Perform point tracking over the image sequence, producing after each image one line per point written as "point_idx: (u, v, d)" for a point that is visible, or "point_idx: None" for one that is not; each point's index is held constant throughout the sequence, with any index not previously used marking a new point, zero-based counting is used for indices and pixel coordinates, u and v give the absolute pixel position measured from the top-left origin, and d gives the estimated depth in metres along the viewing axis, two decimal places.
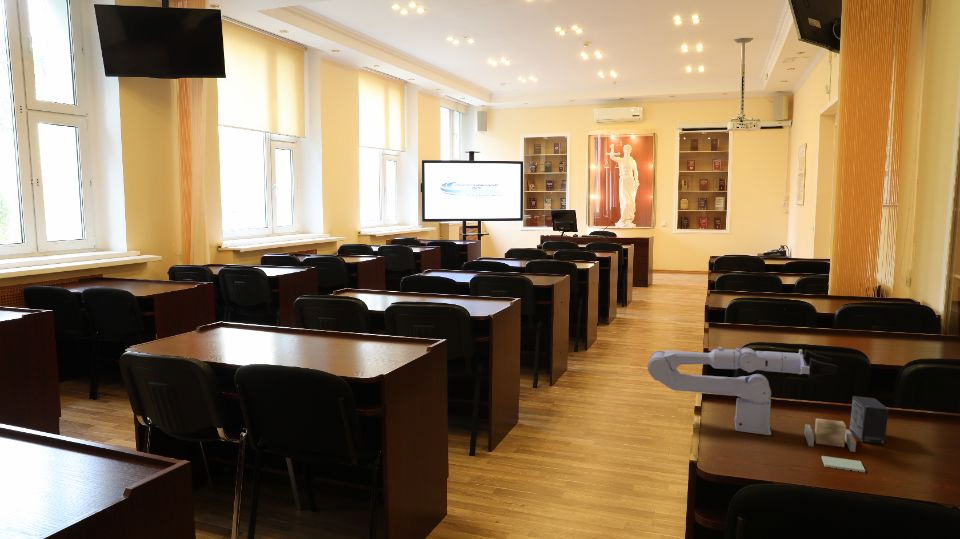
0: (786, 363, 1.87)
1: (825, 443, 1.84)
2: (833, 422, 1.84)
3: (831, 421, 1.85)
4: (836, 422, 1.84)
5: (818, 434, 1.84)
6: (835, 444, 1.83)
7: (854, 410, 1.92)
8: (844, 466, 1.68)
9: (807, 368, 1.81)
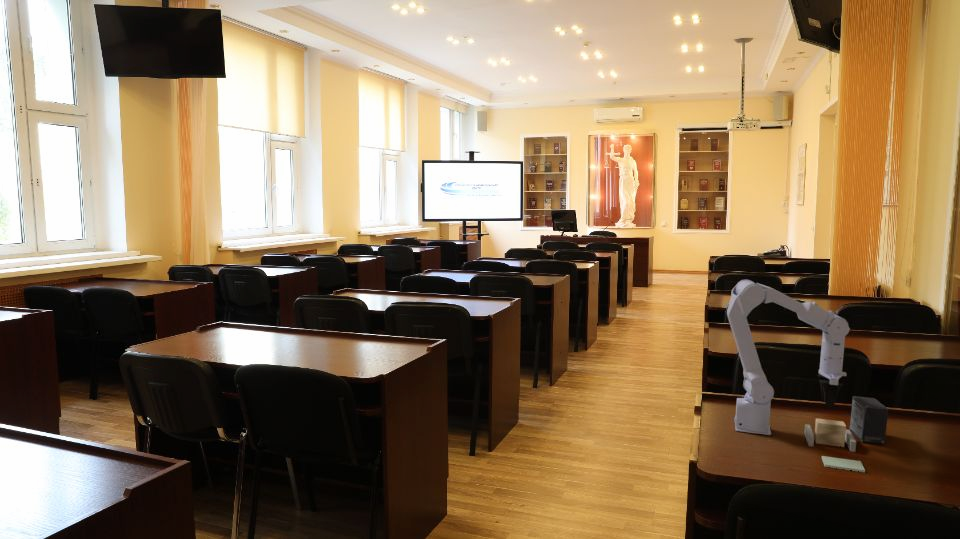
0: (834, 362, 1.86)
1: (825, 443, 1.84)
2: (833, 422, 1.84)
3: (831, 421, 1.85)
4: (836, 422, 1.84)
5: (818, 434, 1.84)
6: (835, 444, 1.83)
7: (854, 410, 1.92)
8: (844, 466, 1.68)
9: (836, 383, 1.83)
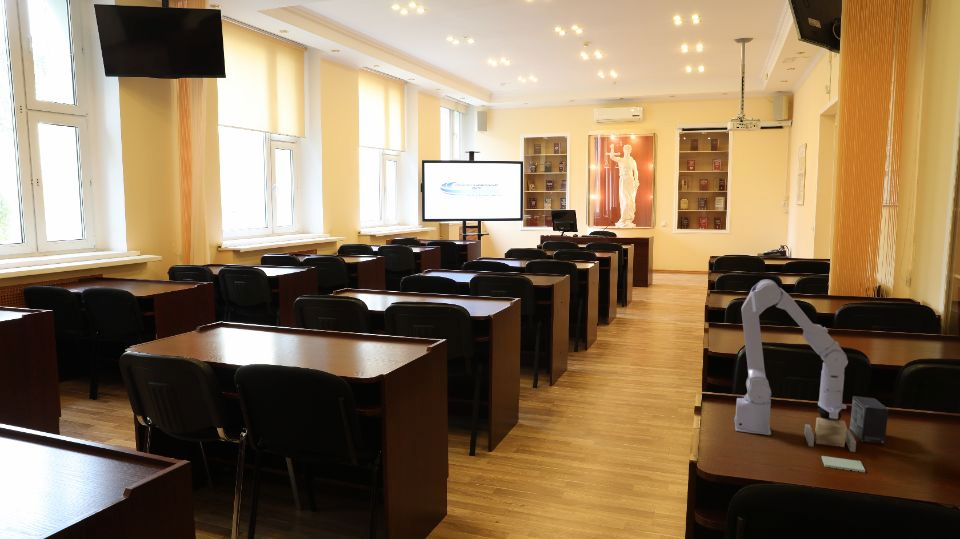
0: (834, 395, 1.84)
1: (825, 443, 1.84)
2: (834, 422, 1.83)
3: (832, 421, 1.84)
4: (837, 422, 1.83)
5: (818, 435, 1.84)
6: (835, 444, 1.83)
7: (854, 410, 1.92)
8: (844, 466, 1.68)
9: (836, 416, 1.80)
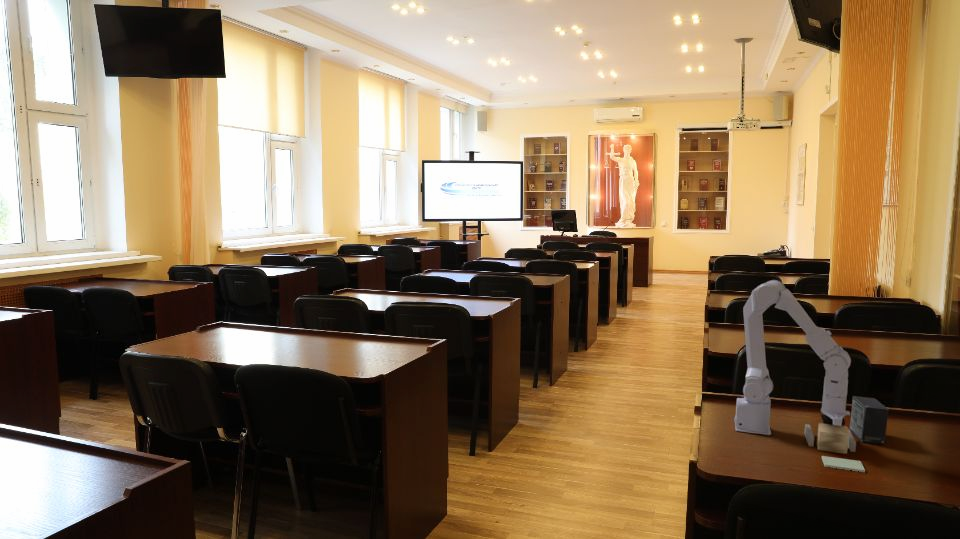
0: (837, 401, 1.78)
1: (827, 449, 1.79)
2: (837, 429, 1.78)
3: (835, 427, 1.79)
4: (840, 428, 1.78)
5: (820, 441, 1.79)
6: (837, 451, 1.78)
7: (854, 410, 1.92)
8: (844, 466, 1.68)
9: (839, 423, 1.75)
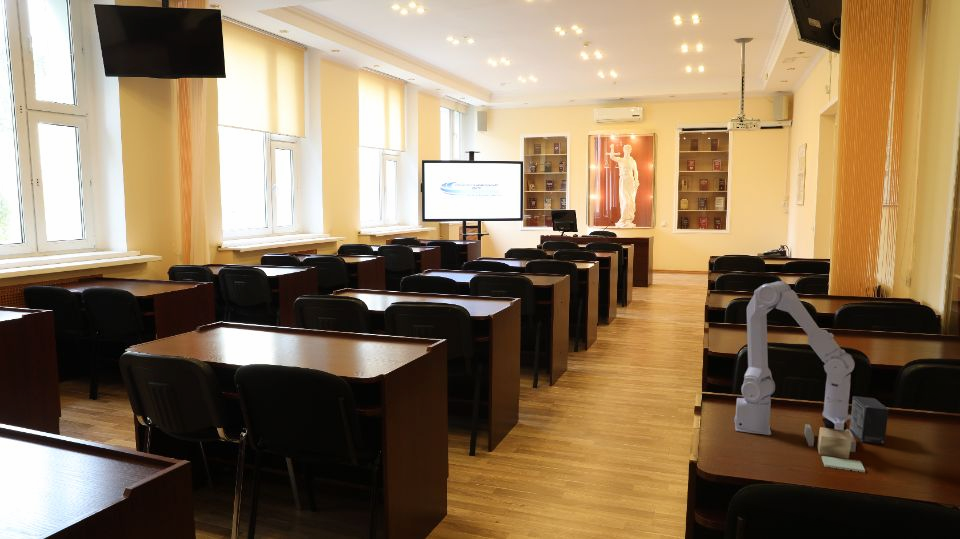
0: (839, 405, 1.75)
1: (828, 454, 1.76)
2: (838, 433, 1.75)
3: (836, 431, 1.76)
4: (841, 433, 1.75)
5: (821, 446, 1.75)
6: (839, 455, 1.75)
7: (854, 410, 1.92)
8: (844, 466, 1.68)
9: (841, 428, 1.72)
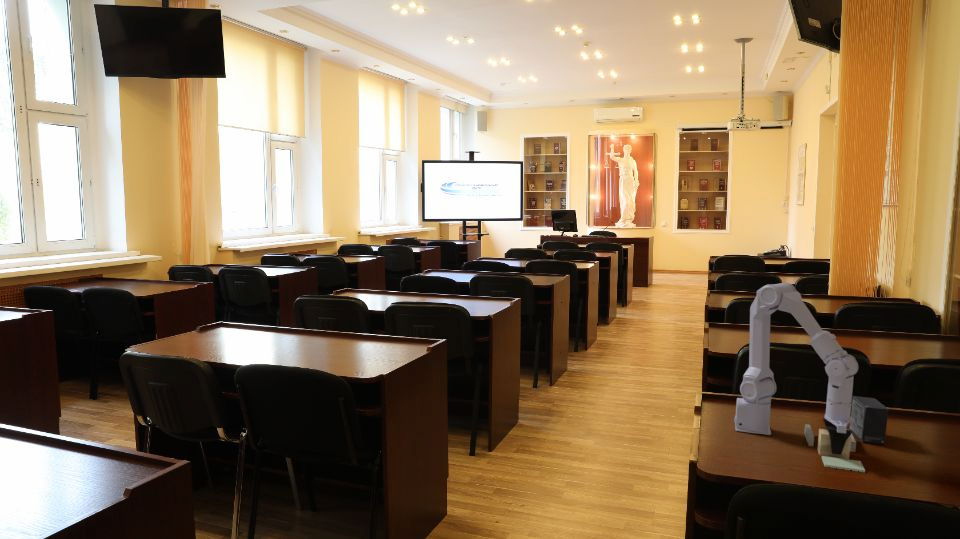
0: (842, 407, 1.72)
1: (829, 455, 1.75)
2: None
3: None
4: None
5: (822, 445, 1.76)
6: (839, 456, 1.74)
7: (854, 410, 1.92)
8: (844, 466, 1.68)
9: (844, 431, 1.68)
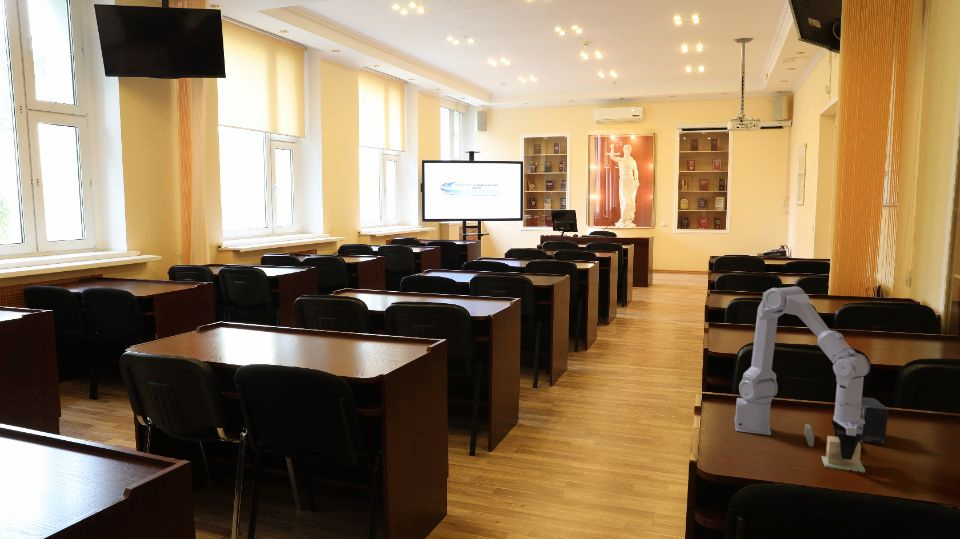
0: (851, 409, 1.65)
1: (838, 463, 1.68)
2: None
3: None
4: None
5: (830, 453, 1.69)
6: (849, 464, 1.68)
7: None
8: (844, 466, 1.68)
9: (854, 433, 1.62)
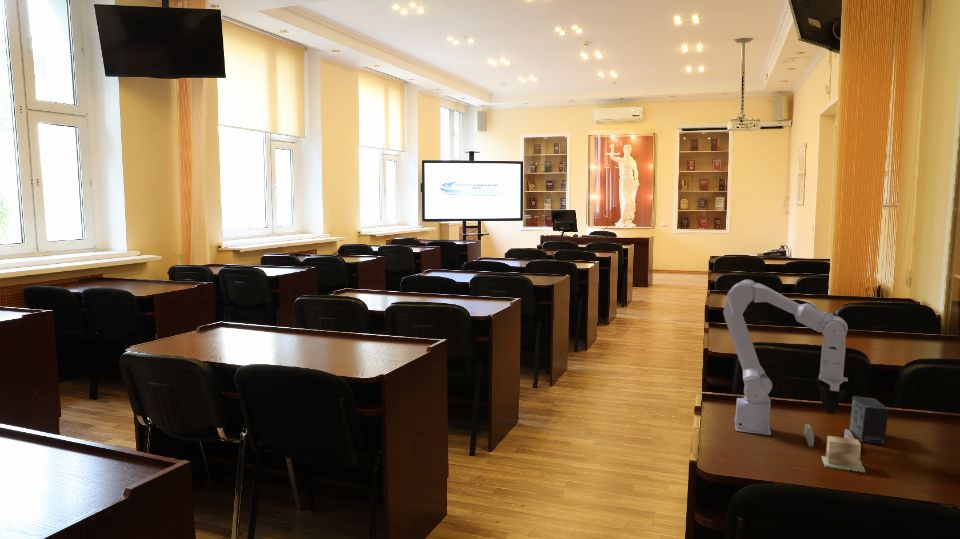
0: (835, 367, 1.79)
1: (838, 463, 1.68)
2: (847, 440, 1.69)
3: (845, 439, 1.70)
4: (850, 440, 1.69)
5: (830, 453, 1.69)
6: (849, 464, 1.68)
7: (854, 410, 1.92)
8: (844, 466, 1.68)
9: (837, 389, 1.75)
